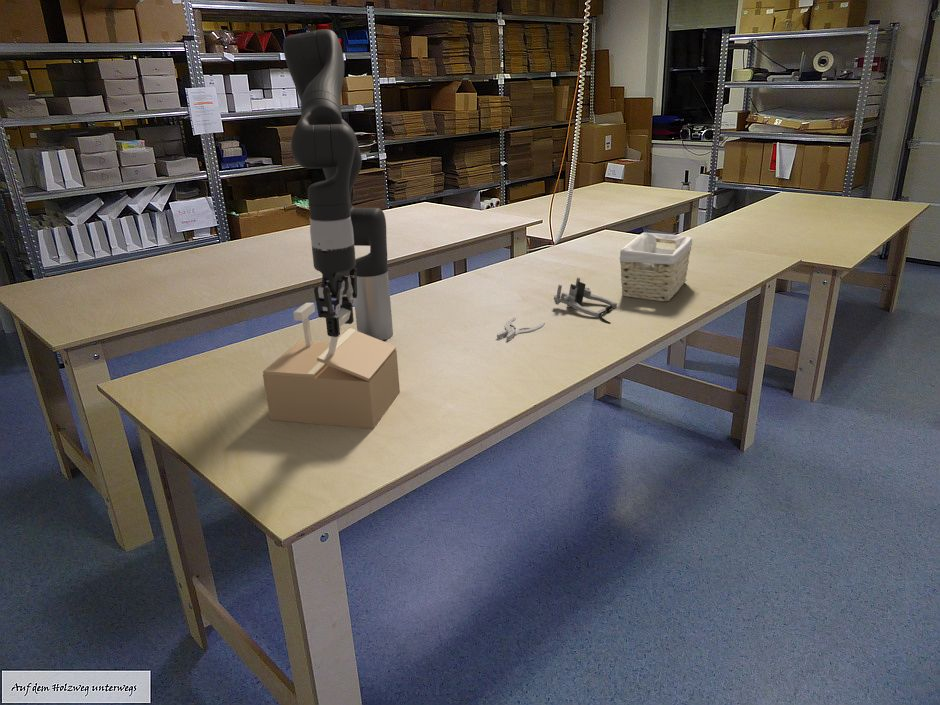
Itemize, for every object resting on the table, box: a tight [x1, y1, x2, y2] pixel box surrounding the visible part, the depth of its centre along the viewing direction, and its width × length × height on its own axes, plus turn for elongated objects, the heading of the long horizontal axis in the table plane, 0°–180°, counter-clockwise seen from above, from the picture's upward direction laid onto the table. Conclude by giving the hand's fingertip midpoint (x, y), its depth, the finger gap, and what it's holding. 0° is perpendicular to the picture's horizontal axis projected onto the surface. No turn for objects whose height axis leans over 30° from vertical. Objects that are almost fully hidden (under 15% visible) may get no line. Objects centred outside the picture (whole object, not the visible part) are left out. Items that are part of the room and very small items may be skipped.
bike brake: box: [553, 277, 618, 324], centre depth 186 cm, size 14×7×20 cm
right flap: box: [317, 308, 397, 381], centre depth 130 cm, size 16×11×9 cm
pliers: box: [496, 317, 546, 342], centre depth 174 cm, size 10×2×15 cm
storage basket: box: [619, 232, 693, 302], centre depth 199 cm, size 24×16×15 cm
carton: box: [262, 302, 401, 430], centre depth 134 cm, size 16×22×19 cm
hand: (340, 329), depth 125 cm, fingers closed on right flap, 6 cm apart
